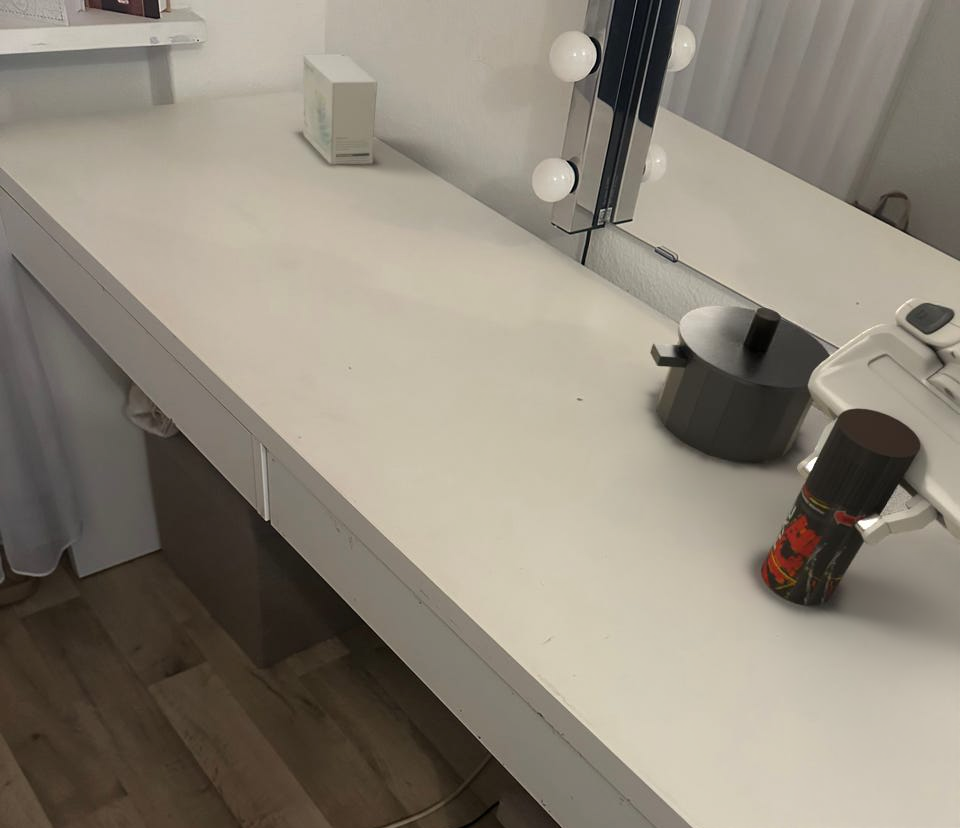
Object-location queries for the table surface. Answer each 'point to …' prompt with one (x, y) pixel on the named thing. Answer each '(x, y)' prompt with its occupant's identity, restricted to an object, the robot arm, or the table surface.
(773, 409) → the pot
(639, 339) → the table surface
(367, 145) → the cosmetics box
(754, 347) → the pot lid
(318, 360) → the table surface
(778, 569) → the deodorant
